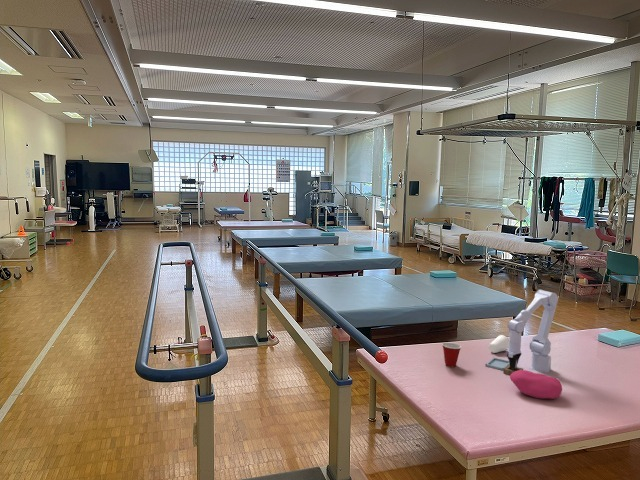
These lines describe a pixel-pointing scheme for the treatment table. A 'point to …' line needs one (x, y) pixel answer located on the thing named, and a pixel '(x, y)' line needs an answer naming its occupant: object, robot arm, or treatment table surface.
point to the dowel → (514, 368)
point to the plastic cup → (451, 353)
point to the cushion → (536, 384)
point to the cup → (499, 344)
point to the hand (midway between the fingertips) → (513, 366)
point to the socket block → (508, 371)
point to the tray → (497, 363)
